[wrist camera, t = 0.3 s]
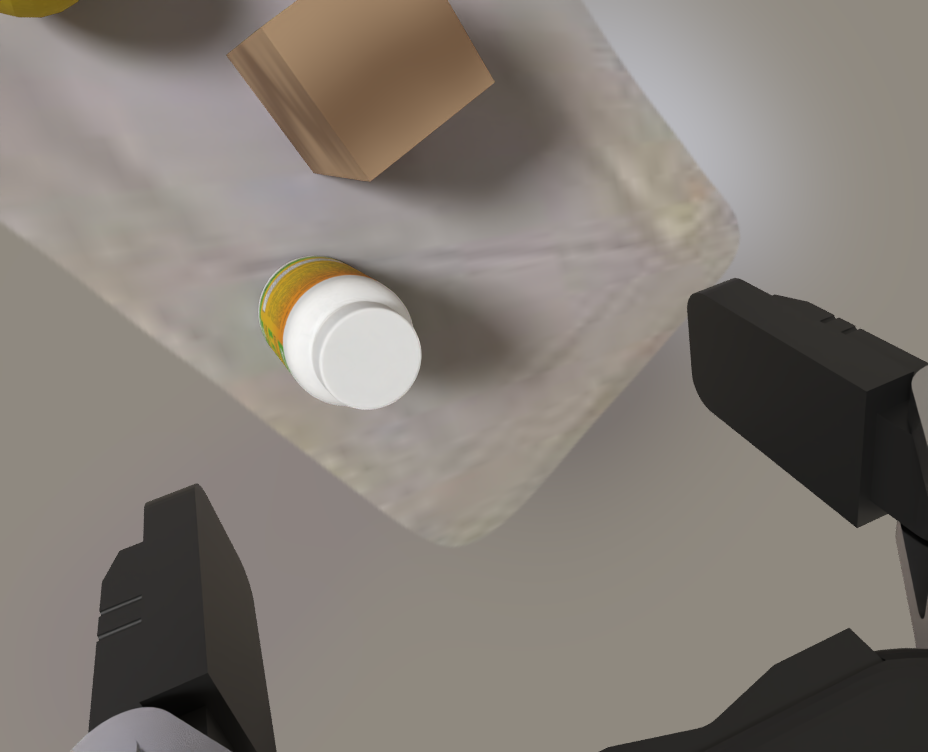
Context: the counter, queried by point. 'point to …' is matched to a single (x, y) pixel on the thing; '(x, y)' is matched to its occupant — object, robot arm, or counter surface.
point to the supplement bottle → (340, 333)
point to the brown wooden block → (361, 78)
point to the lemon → (34, 7)
